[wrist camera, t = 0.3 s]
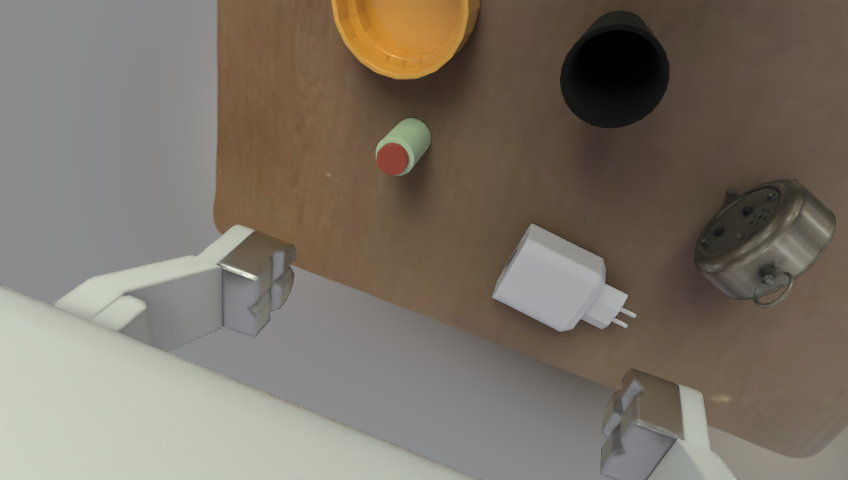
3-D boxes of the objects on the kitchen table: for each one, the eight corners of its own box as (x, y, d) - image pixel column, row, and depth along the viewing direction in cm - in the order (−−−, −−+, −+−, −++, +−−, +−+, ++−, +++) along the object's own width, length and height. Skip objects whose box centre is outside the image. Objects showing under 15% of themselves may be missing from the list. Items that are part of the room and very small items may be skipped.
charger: (610, 334, 68) (497, 277, 69) (654, 280, 63) (532, 219, 63) (608, 360, 64) (489, 300, 65) (655, 306, 59) (525, 241, 60)
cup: (623, 100, 54) (621, 147, 44) (556, 56, 54) (540, 93, 44) (681, 28, 49) (693, 62, 40) (609, -20, 49) (603, 2, 40)
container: (398, 113, 62) (374, 135, 56) (434, 124, 61) (414, 148, 55) (392, 147, 64) (368, 172, 58) (427, 158, 63) (406, 185, 58)
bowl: (362, -95, 52) (339, -93, 48) (496, -59, 50) (484, -55, 46) (346, 46, 60) (325, 57, 56) (462, 81, 58) (450, 96, 54)
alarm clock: (716, 253, 59) (739, 357, 46) (678, 220, 58) (691, 316, 45) (817, 184, 53) (878, 283, 39) (776, 146, 52) (824, 234, 39)
